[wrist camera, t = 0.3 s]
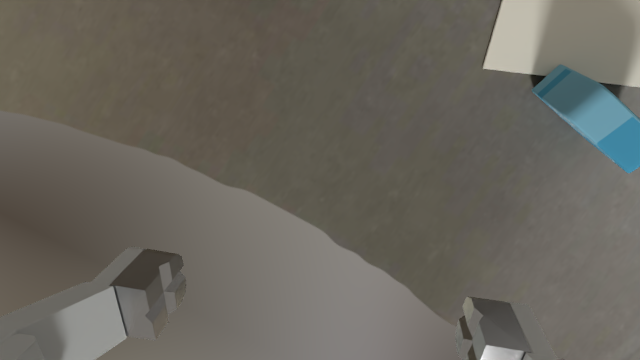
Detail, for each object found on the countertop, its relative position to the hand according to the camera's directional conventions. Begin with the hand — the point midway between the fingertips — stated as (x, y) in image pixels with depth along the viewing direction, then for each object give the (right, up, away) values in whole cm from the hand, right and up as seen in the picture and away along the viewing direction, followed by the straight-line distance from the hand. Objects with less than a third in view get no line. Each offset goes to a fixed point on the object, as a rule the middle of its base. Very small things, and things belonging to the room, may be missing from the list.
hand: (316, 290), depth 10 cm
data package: (+35, +14, +40) cm, 55 cm away
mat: (+36, +23, +35) cm, 56 cm away
